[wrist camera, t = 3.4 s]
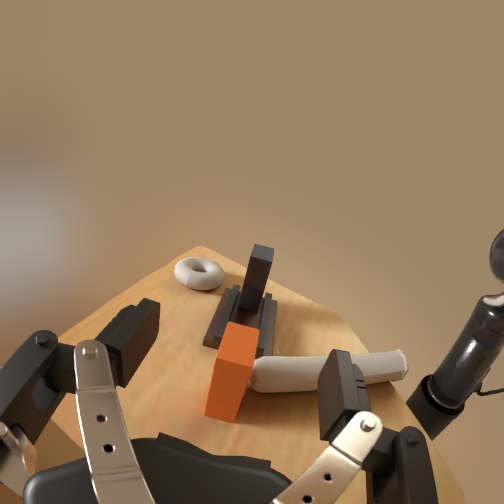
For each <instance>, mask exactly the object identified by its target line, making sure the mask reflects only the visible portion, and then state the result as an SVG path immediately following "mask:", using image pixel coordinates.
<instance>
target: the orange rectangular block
mask: <svg viewBox="0 0 504 504" xmlns="http://www.w3.org/2000/svg"><path fill="white" fill-rule="evenodd" d="M259 333H260V330H259V329H255V328H252V327H248V326H244V325H240V324H236V323H233V322H228V324H227V327H226V330H225V333H224V335H223V338H222V341H221V344H220V347H219V350H218V353H217V356H216V359H215V364H214V368H213V373H212V378H211V382H210V387H209V392H208V397H207V402H206V406H205V411H204V415H205V416H209V417H212V418H216V419H220V420H223V421H227V422H231V423H234V420H235V418H236V415H237V412H238V409H239V407H240V404H241V401H242V398H243V395H244V393H245V390H246V387H247V384H248V381H249V378H250V375H251V373H252V370H253V366H254V361H255V355H256V350H257V344H258V338H259Z"/></svg>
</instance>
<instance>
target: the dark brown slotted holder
mask: <svg viewBox="0 0 504 504" xmlns="http://www.w3.org/2000/svg"><path fill="white" fill-rule="evenodd" d="M273 254H274V249H273V248H270V247H266V246H261V245H258V244H255V245H254V248H253V250H252V253H251V256H250V260H249V264H248V268H247V272H246V276H245V280H244V284H243V288H242V292H240V291H239V290H240V286H239V285H235V284H234V286H233V289H229V288H226V289H225V292H224V294H223V296H222V298H221V301H220V303H219V305H218V308H217V310H216V312H215V314H214V317H213V319H212V321H211V324H210V326H209V328H208V330H207V333H206V335H205V337H204V340H203V345H204V346H208V347H211V348H215V349H218V350H219V347H220V344H221V341H222V338H223V335H224V333H225V330H226V327H227V324H228V322H233V323H236V324H240V325H244V326H248V327H252V328H255V329H259V330H260V333H259V338H258V344H257V350H256V355H255V359H259V358H261V357H263V356H272V350H273V341H274V331H275V321H276V311H277V301H275V300H271V299H272V294H270V293H266V294H265V298H263V297H262V296H263V293H264V289H265V286H266V282H267V279H268V275H269V271H270V268H271V265H272V260H273Z"/></svg>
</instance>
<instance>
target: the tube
mask: <svg viewBox="0 0 504 504" xmlns="http://www.w3.org/2000/svg"><path fill="white" fill-rule="evenodd" d="M350 357H351V362H352V363H353V364H357V366H358V367H359V368H360V370H361V371H362V373H363V377H364V382H365V385H366V384H373V383H379V382H385V381H397V380H402V379H403V377H404V376H405V375H406V373H407V372H408V370H409V369H408V360H407V356H406V355H405V354H404V353H403V352H402V350H401V349H398V350H396V351H392V352H382V353H369V354H355V355H350ZM327 358H328V356H299V357H280V356H263V357H261V358H259V359H256V360H255V361H254V366H253V370H252V373H251V375H250V378H249V381H248V382H249V384H250V385H251V387H252V388H253V389H254V390H256V391H257V392H259V393H269V392H296V391H311V390H318V387H317V382H318V377H319V374H320V371H321V369H322V368H323V366H324V364H325V362H326V360H327Z"/></svg>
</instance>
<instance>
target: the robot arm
mask: <svg viewBox="0 0 504 504" xmlns="http://www.w3.org/2000/svg"><path fill="white" fill-rule="evenodd" d="M490 267H491V271H492V273H493V275H494V276H495V278H496V279H497V280H499V281H500V282H502V283H504V229H503V230H502V231H501V232H500V233H499V234H498V235H497V236H496V238H495V239H494V241H493V243H492V246H491V250H490ZM159 318H160V303H159V302H156V301H153V300H150V299H147V298H143V299H142V300H141V302H140V303H139V304H138V305H137V306H134V305H129V306H127V307H125V308H123V309H122V310H121V311H120V312H119V313H118V314H117V315H116V317H114V318H113V319H112V321H111V322H110V323H109V324H108V325H107V326H106V327H105V328H104V329H103V330H102V331H101V332H100V334H99V335H98V336H97V337H96V338H95V339H94V340H84V341H82V342H80V343H78V344H77V345H76V346H72V345H67V344H62V343H58V339H57V336H56V335H55V334H54V333H53V332H51V331H47V330H40V331H37V332H35V333H33V334H32V335H31V336H30V337H29V338H28V339H27V340H26V341H25V342H24V343H23V344H22V345H21V346H20V347H19V348H18V349H17V350H16V351H15V352H14V354H13V355H12V356H11V357H10V358H9V359H8V360H7V361H6V362H5V363H4V364H3V366H2V367H1V368H0V483H1V484H5V485H6V486H7V487H8V488H10V489H11V490H12V491H14V492H15V493H16V494H18V495H19V496H20V497H22V498H23V504H334V502H335V501H336V500H337V499H338V498H339V496H340V495H341V494H342V493H343V492H344V490H345V489H346V488H347V486H348V485H349V484H350V483H351V481H352V480H353V479H354V477H355V476H356V475H357V473H358V472H359V471H360V469H361V470H364V471H366V491H367V504H438V498H437V491H436V486H435V480H434V475H433V470H432V465H431V460H430V456H429V451H428V447H427V443H426V439H425V436H424V434H423V433H422V432H421V431H420V430H419V429H417V428H415V427H412V426H408V427H405V428H403V429H402V430H401V431H400V432H396V431H393V430H390V429H387V428H385V427H383V424H382V421H381V420H380V418H379V417H378V416H376V415H375V414H373V413H372V412H371V408H370V403H369V399H368V394H367V390H366V386H365V382H364V377H363V373H362V371H361V370H360V368H359V367H358V366H357V364H353V363H352V362H351V357H350V353H349V352H347V351H341V350H336V349H333V350H332V351H331V352H330V354H329V356H328V358H327V360H326V362H325V364H324V366H323V368H322V369H321V371H320V374H319V377H318V382H317V387H318V404H319V424H320V440H324V441H329V446H328V447H327V448H326V449H325V451H324V452H323V453H322V454H321V455H320V456H319V457H318V458H317V459H316V460H315V461H314V462H313V463H312V464H311V465H310V466H309V467H308V468H307V469H306V470H305V471H304V472H303V473H302V474H301V475H300V476H299V477H298V478H297V479H296V480H295V481H294V482H292V481H291V480H290V479H288V478H287V477H286V476H285V475H283V474H281V473H280V472H278V471H276V470H274V469H272V468H270V465H271V461H269V460H263V459H257V458H252V457H246V456H218V455H212V454H210V453H208V452H206V451H204V450H202V449H200V448H198V447H196V446H194V445H192V444H191V443H189V442H187V441H184V440H181V439H178V438H175V437H172V436H169V435H166V434H163V433H161V432H160V433H159V435H158V437H157V439H156V438H137V439H132V440H130V437H129V434H128V431H127V428H126V425H125V421H124V418H123V414H122V411H121V407H120V403H119V399H118V395H117V391H116V386H117V385H118V386H120V387H123V388H126V386H127V385H128V383H129V381H130V380H131V378H132V377H133V375H134V373H135V372H136V370H137V369H138V367H139V365H140V364H141V362H142V361H143V359H144V358H145V356H146V355H147V353H148V351H149V350H150V348H151V347H152V345H153V344H154V342H155V340H156V338H157V335H158V331H159ZM503 347H504V292H503V293H501V294H498V295H485V296H483V297H481V298H480V299H479V301H478V303H477V305H476V307H475V309H474V311H473V313H472V314H471V316H470V318H469V320H468V322H467V323H466V325H465V327H464V329H463V330H462V332H461V334H460V335H459V337H458V339H457V340H456V342H455V344H454V345H453V347H452V348H451V350H450V351H449V353H448V354H447V356H446V357H445V359H444V360H443V362H442V363H441V365H440V366H439V367H438V369H437V370H436V372H435V373H434V374H433V376H431V378H430V379H429V380H428V382H427V384H426V390H427V393H428V395H429V397H430V398H431V400H432V401H433V402H434V403H435V404H436V405H438V406H439V407H441V408H443V409H445V410H449V411H453V410H456V409H458V408H459V407H460V406H461V404H464V403H465V401H466V400H467V399H468V398H469V397H470V395H471V394H472V393H473V392H477V394H478V395H479V396H487V395H491V394H496V393H500V392H504V388H502V389H498V390H492V391H488V392H480V390H481V387H482V384H483V383H482V380H483V379H484V378H485V376H486V375H487V374H488V372H489V371H490V366H491V365H492V364H493V362H494V361H495V359H496V358H497V356H498V355H499V353H500V352H501V350H502V349H503ZM66 393H72V394H76V402H77V409H78V416H79V422H80V427H81V433H82V438H83V443H84V448H85V452H86V457H84V458H81V459H78V460H75V461H72V462H69V463H66V464H63V465H60V466H56V467H53V468H49V469H46V470H42V471H39V472H37V473H35V464H36V461H37V453H36V450H35V448H34V444H35V442H36V441H37V439H38V437H39V436H40V434H41V432H42V431H43V429H44V427H45V426H46V424H47V423H48V421H49V419H50V418H51V416H52V415H53V413H54V412H55V410H56V409H57V407H58V405H59V404H60V402H61V401H62V399H63V398H64V396H65V395H66Z"/></svg>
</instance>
